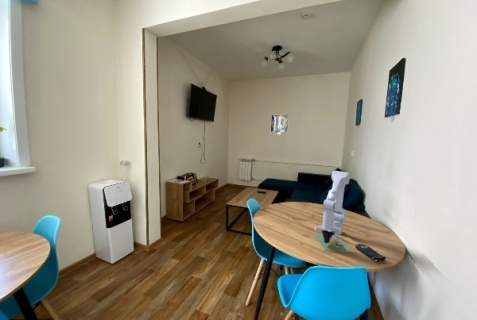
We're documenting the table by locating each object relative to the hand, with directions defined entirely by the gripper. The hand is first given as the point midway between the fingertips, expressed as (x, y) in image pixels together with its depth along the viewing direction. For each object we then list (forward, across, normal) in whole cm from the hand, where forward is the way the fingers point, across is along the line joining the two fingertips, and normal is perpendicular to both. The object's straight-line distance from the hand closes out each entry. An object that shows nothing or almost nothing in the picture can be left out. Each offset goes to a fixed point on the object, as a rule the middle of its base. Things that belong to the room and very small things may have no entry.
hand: (326, 242), depth 117 cm
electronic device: (+4, +23, -3) cm, 23 cm away
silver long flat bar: (0, +8, +6) cm, 9 cm away
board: (+3, +6, +5) cm, 8 cm away
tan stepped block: (+2, +4, 0) cm, 5 cm away
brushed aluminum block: (+2, +8, +5) cm, 9 cm away
